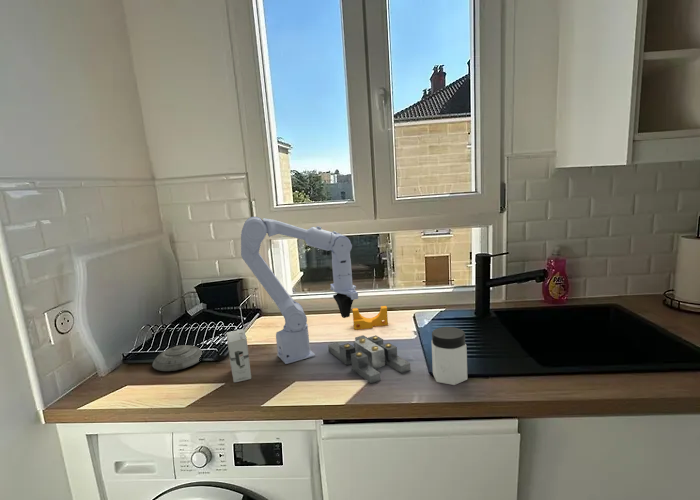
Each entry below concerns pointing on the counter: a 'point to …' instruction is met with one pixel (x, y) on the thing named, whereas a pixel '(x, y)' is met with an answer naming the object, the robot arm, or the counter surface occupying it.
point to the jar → (449, 355)
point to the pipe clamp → (369, 319)
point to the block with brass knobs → (371, 352)
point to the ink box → (238, 355)
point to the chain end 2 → (371, 374)
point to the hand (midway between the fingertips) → (345, 316)
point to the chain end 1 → (350, 348)
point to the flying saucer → (177, 358)
